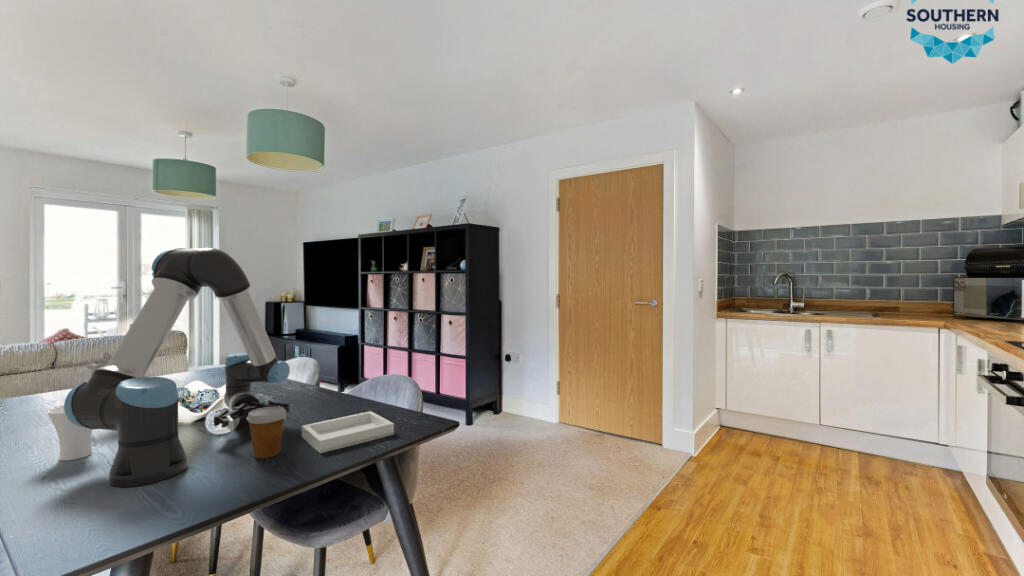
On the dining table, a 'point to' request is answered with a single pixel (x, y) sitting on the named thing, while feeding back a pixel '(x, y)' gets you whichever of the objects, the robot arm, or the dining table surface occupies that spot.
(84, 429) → the cup
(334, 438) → the tray
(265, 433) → the disposable coffee cup
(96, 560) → the dining table surface
